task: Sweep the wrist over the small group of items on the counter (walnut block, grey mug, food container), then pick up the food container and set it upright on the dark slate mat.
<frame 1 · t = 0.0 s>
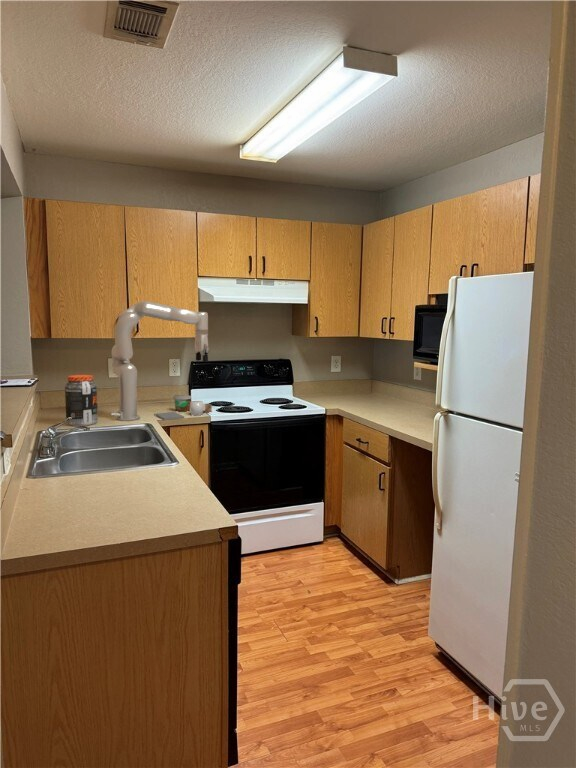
hand: (201, 361, 310), 31 cm above the counter, tool pointing down, fingers open, 9 cm apart
slate mat: (169, 416, 298), on the counter
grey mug: (196, 415, 304), on the counter
food container: (180, 411, 315), on the counter
supplement tub: (82, 424, 275), on the counter
walnut block: (205, 412, 312), on the counter
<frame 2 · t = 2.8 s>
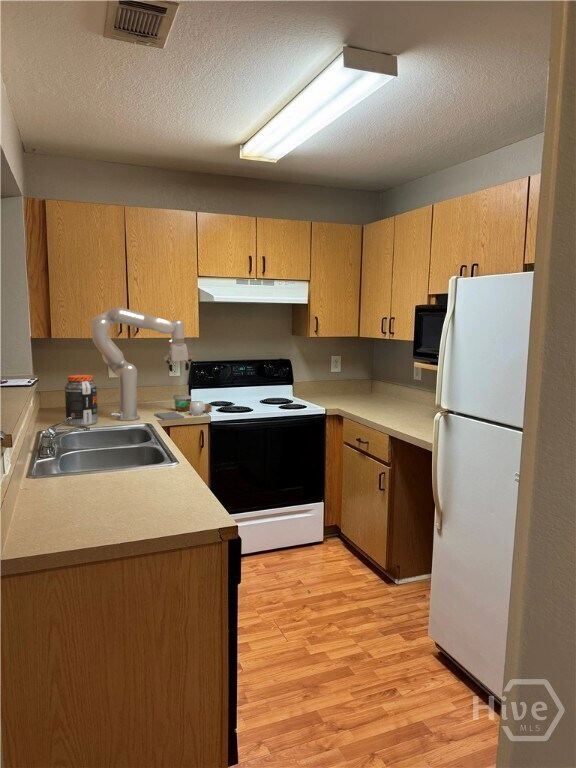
hand: (179, 370, 303), 26 cm above the counter, tool pointing down, fingers open, 9 cm apart
nothing on the counter moved.
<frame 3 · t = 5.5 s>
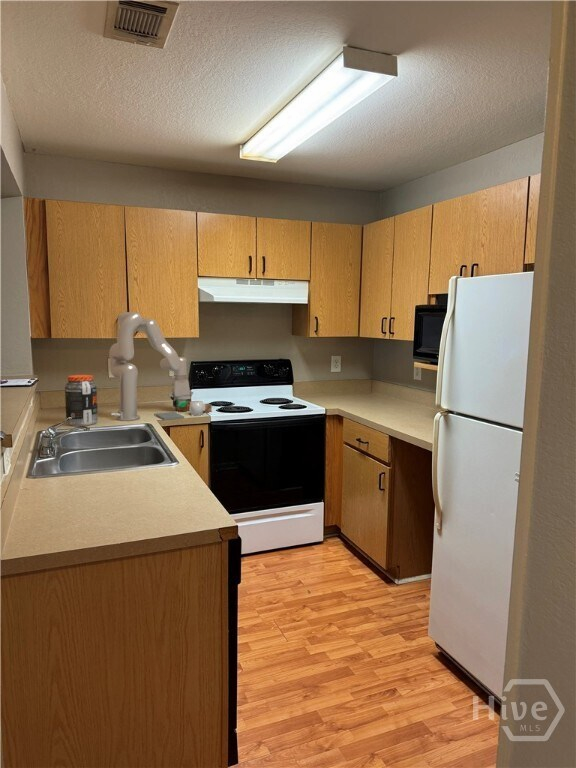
hand: (181, 406, 315), 3 cm above the counter, tool pointing down, fingers closed on food container, 7 cm apart
food container: (180, 411, 315), on the counter, touching gripper
everything else where it was.
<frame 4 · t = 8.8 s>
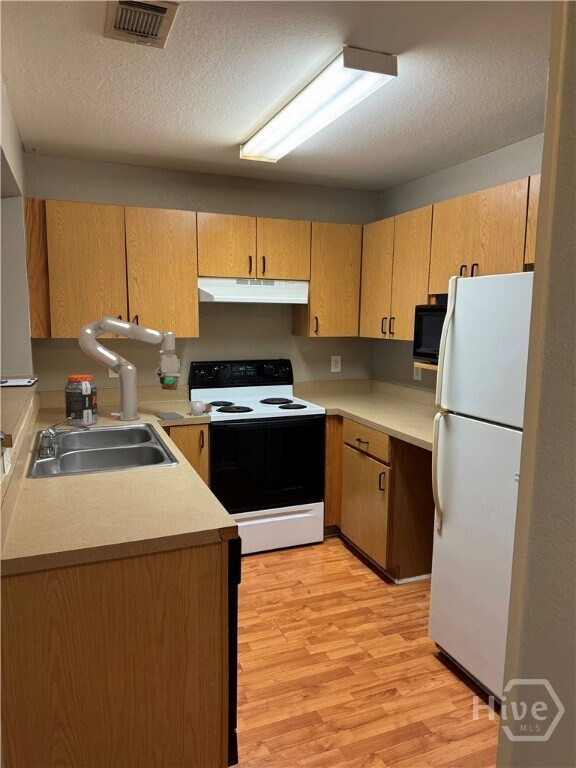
hand: (168, 383, 295), 19 cm above the counter, tool pointing down, fingers closed on food container, 6 cm apart
food container: (166, 389, 295), point 16 cm above the counter, touching gripper
everything else where it was.
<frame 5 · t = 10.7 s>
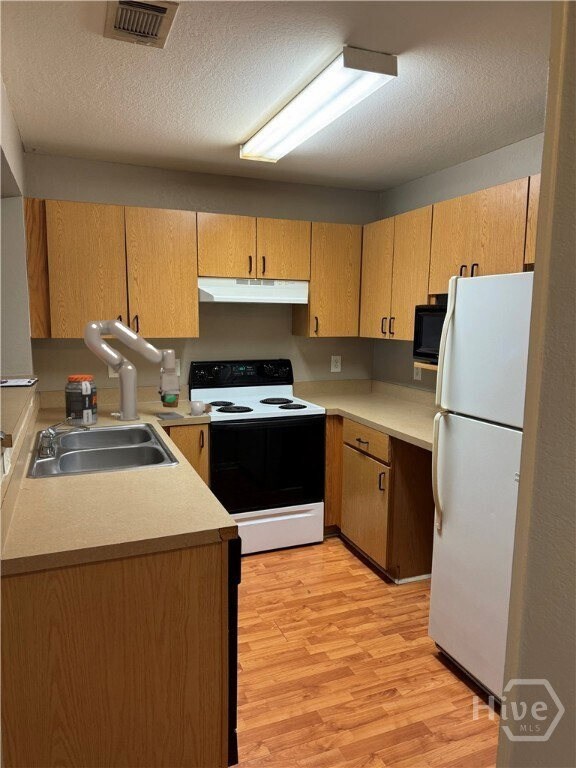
hand: (169, 401, 296), 9 cm above the counter, tool pointing down, fingers closed on food container, 6 cm apart
food container: (167, 407, 296), point 6 cm above the counter, touching gripper
everything else where it was.
when the fingers open (5 cm above the counter, at t = 12.0 s): food container stays where it is, resting on slate mat.
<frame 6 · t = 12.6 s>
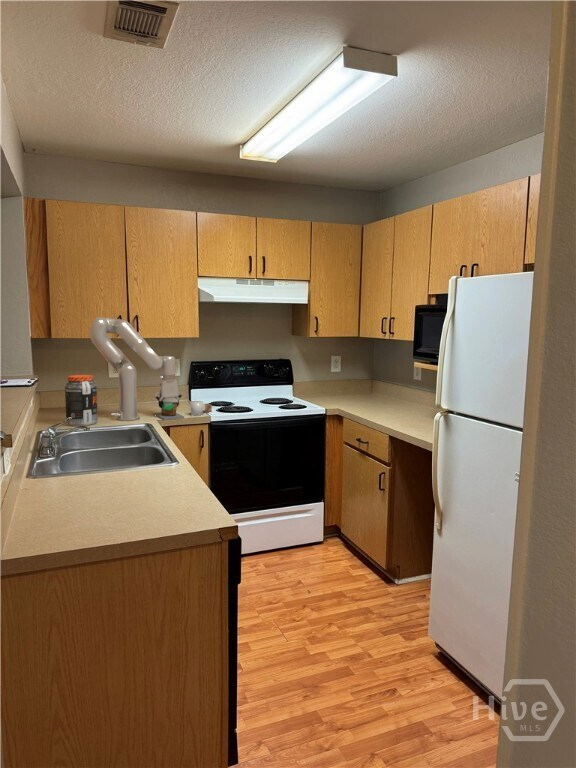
hand: (168, 406, 297), 6 cm above the counter, tool pointing down, fingers open, 9 cm apart
food container: (165, 415, 296), point 1 cm above the counter, touching slate mat
everything else where it was.
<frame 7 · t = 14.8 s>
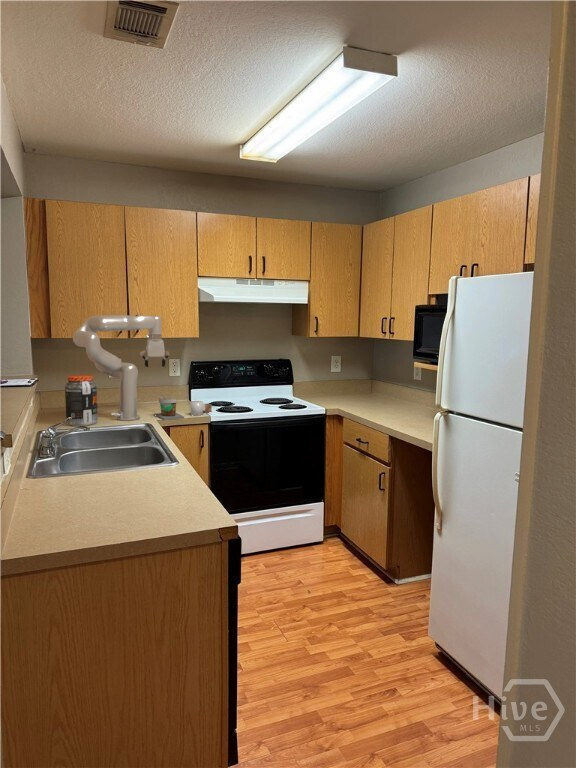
hand: (155, 366, 301), 28 cm above the counter, tool pointing down, fingers open, 9 cm apart
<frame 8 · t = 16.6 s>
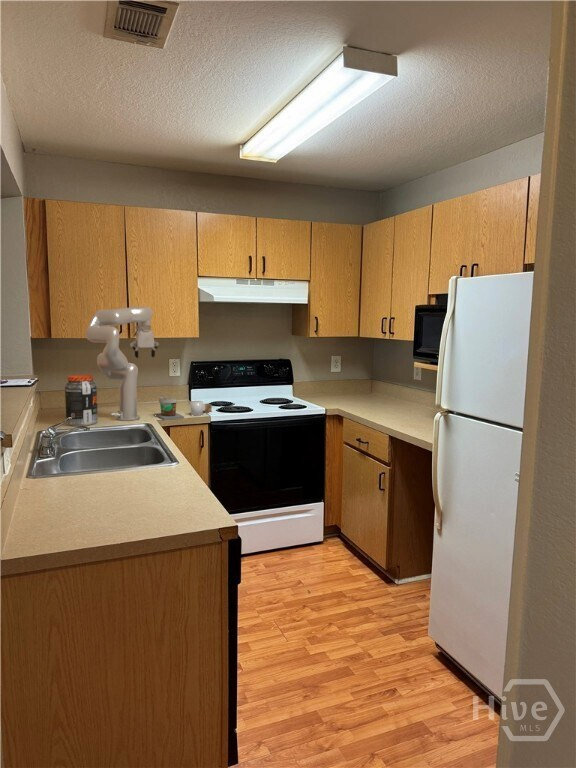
hand: (145, 357, 306), 33 cm above the counter, tool pointing down, fingers open, 9 cm apart
nothing on the counter moved.
at the end: food container inside the target area on the slate mat (2.3 cm from its centre), point 0.8 cm above the slate mat's base; food container tilted 0°; the gripper is holding nothing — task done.
